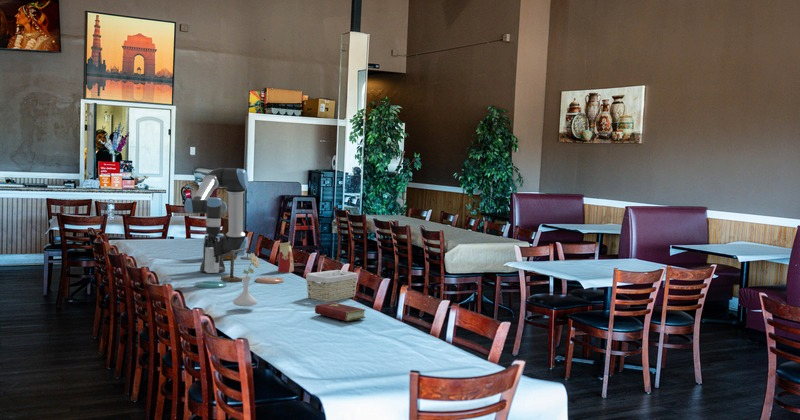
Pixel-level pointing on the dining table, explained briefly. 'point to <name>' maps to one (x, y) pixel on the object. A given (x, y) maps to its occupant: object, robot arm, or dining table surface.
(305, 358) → the dining table surface
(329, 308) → the hardcover book
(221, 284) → the teal dish
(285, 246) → the milk carton
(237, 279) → the balance
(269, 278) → the terracotta dish
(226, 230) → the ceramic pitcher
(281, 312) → the dining table surface
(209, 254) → the small box
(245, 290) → the flower in vase
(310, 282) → the storage basket
